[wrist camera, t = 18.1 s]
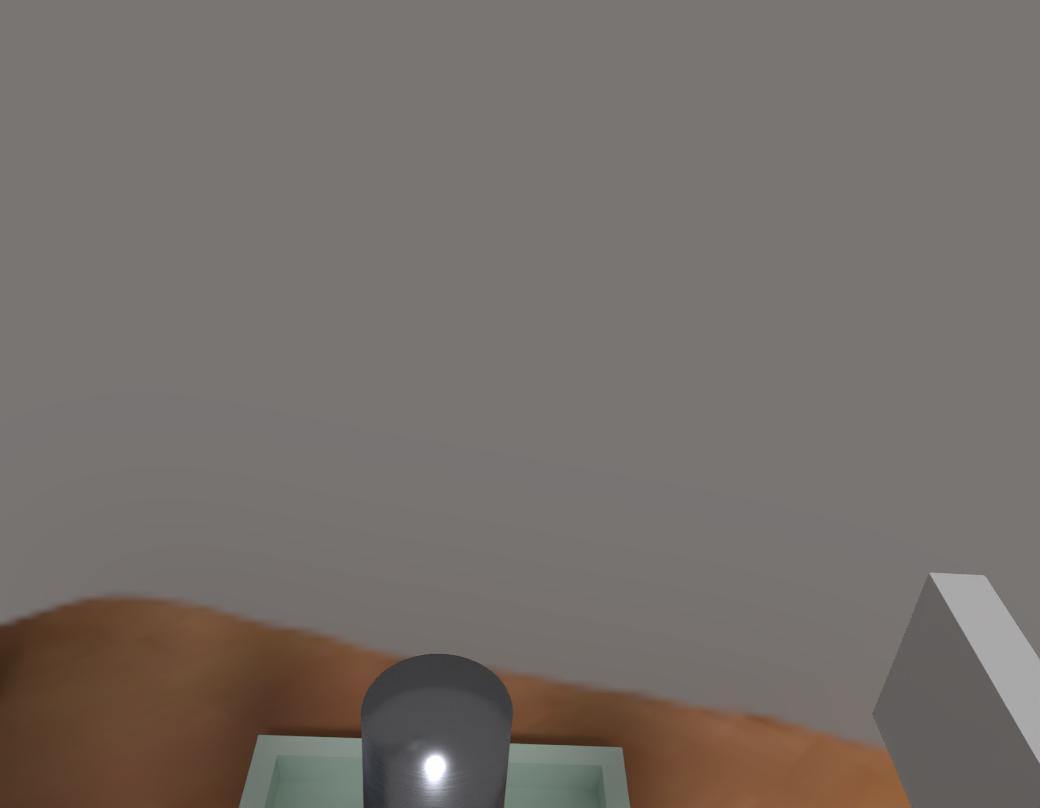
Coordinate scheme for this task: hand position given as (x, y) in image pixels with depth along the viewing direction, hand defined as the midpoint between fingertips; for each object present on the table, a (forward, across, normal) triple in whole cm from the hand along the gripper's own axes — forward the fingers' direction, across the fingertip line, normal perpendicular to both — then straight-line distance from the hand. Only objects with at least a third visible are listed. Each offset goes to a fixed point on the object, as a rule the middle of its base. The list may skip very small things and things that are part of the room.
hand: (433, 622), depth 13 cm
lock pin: (+10, 0, -27) cm, 29 cm away
